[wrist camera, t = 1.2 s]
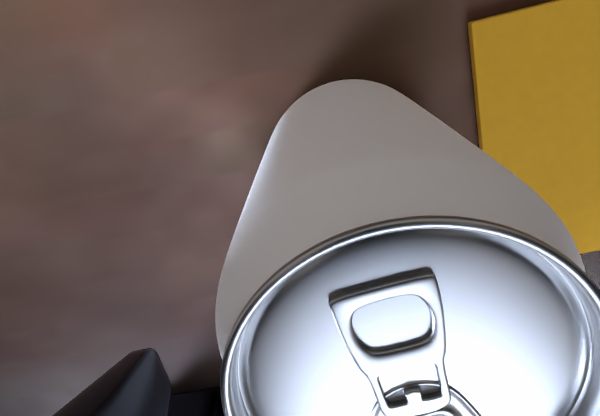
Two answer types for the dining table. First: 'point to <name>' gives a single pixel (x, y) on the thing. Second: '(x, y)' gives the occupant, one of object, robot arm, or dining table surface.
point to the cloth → (544, 105)
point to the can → (399, 275)
